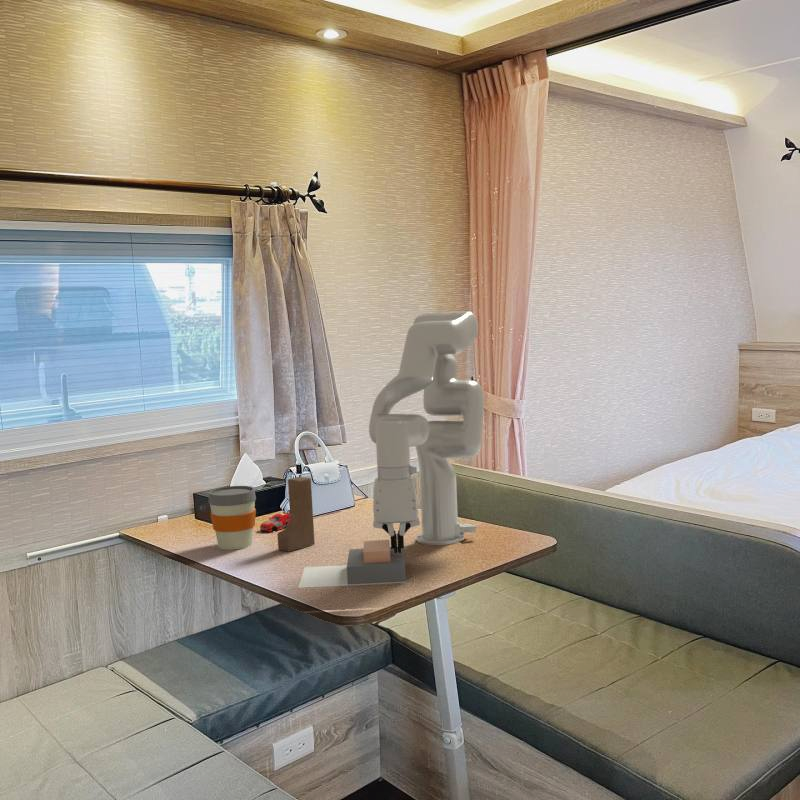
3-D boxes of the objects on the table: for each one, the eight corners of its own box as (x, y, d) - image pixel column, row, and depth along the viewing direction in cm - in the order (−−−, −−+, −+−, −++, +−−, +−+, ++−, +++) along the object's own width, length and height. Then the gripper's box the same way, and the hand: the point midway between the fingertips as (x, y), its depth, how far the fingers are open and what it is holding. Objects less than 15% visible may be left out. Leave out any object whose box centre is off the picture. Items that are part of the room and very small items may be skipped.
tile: (389, 550, 194) (389, 539, 193) (390, 561, 185) (389, 550, 185) (364, 551, 194) (363, 541, 193) (364, 563, 185) (363, 552, 184)
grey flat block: (404, 562, 197) (403, 546, 196) (406, 581, 183) (405, 564, 182) (350, 565, 197) (349, 549, 196) (347, 584, 183) (346, 567, 182)
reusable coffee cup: (261, 548, 217) (258, 492, 215) (213, 554, 213) (209, 497, 212) (256, 536, 229) (252, 483, 227) (210, 542, 225) (206, 488, 224)
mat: (404, 563, 197) (404, 562, 197) (406, 584, 182) (406, 582, 182) (304, 568, 197) (304, 567, 197) (298, 589, 182) (298, 587, 182)
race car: (268, 535, 231) (267, 521, 231) (256, 532, 235) (255, 518, 235) (303, 524, 241) (302, 511, 241) (291, 522, 245) (290, 508, 244)
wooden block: (288, 552, 211) (284, 483, 210) (277, 549, 215) (273, 482, 213) (315, 544, 218) (311, 477, 216) (304, 541, 221) (300, 476, 219)
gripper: (425, 468, 191) (428, 545, 193) (361, 471, 191) (365, 548, 193) (427, 474, 184) (431, 554, 186) (360, 477, 183) (365, 557, 185)
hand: (397, 551), depth 189 cm, fingers closed
